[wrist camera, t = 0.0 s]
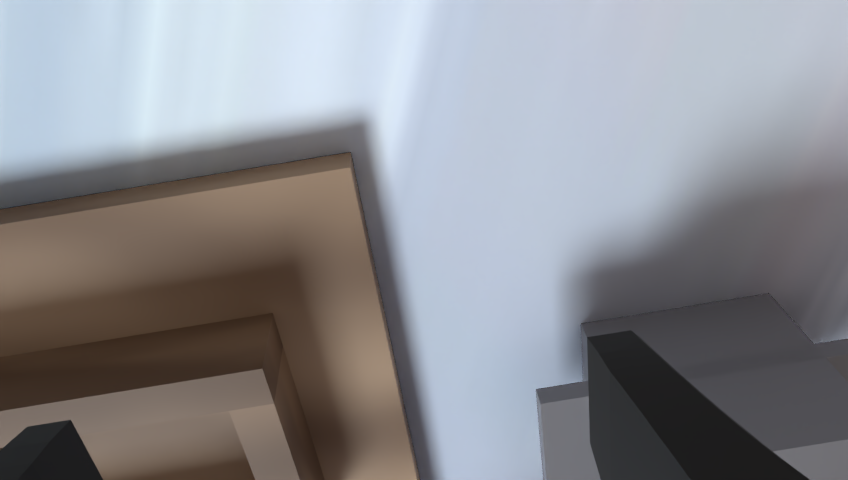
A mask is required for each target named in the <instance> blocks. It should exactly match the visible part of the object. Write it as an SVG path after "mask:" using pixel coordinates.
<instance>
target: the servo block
mask: <svg viewBox="0 0 848 480" xmlns="http://www.w3.org/2000/svg"><path fill="white" fill-rule="evenodd" d="M629 330H631V331H633V332H634V333H635V334H637V335H638V336H639V337H640V338H641V339H643V340H644V341H645V342H646V343H647V344H648V345H649V346H650V347H651V348H652V349H653V350H654V351H656V352H657V353H658V354H659V355H660V356H661V357H662V358H663V359H664V360H665V361H666V362H668V363H669V364H670V365H671V366H672V367H673V368H674V369H675V370H676V371H678V372H679V373H680V374H681V375H682V376H683V377H684V378H685V379H686V380H688V381H689V382H690V383H691V384H692V385H693V386H694V387H696V388H697V389H698V390H699V391H700V392H701V393H702V394H704V395H705V396H706V397H707V398H708V399H709V400H710V401H712V402H713V403H714V404H715V405H716V406H718V407H719V408H720V409H721V410H722V411H723V412H725V413H726V414H727V415H728V416H730V417H731V418H732V419H733V420H734V421H736V422H737V423H738V424H739V425H741V426H742V427H743V428H744V429H745V430H747V431H748V432H749V433H750V434H752V435H753V436H754V437H755V438H756V439H758V440H759V441H760V442H761V443H763V444H764V445H765V446H766V447H768V448H769V449H770V450H772V451H773V452H774V453H775V454H777V455H778V456H779V457H781V458H782V459H783V460H784V461H786V462H787V463H788V464H790V465H791V466H792V467H794V468H795V469H796V470H798V471H799V472H800V473H802V474H803V475H805V476H806V477H807V478H809V479H810V480H848V339H842V340H836V341H830V342H824V343H818V344H813V343H812V341H811V340H810V339H809V338H808V337H807V336H806V335H805V334H804V332H803V331H802V330H801V329H800V328H799V327H798V326H797V325H796V323H795V322H794V321H793V320H792V319H791V318H790V317H789V316H788V314H787V313H786V312H785V311H784V310H783V309H782V308H781V307H780V305H779V304H778V303H777V302H776V301H775V300H774V299H773V298H772V297H771V295H770V294H769V293H768V294H762V295H756V296H749V297H743V298H737V299H731V300H725V301H719V302H712V303H706V304H700V305H694V306H688V307H682V308H675V309H669V310H663V311H657V312H651V313H645V314H638V315H632V316H626V317H620V318H614V319H608V320H601V321H595V322H589V323H583V324H581V341H582V368H583V382H578V383H571V384H565V385H559V386H553V387H547V388H541V389H536V397H537V409H538V421H539V434H540V446H541V458H542V471H543V480H601V479H600V475H599V472H598V468H597V465H596V462H595V458H594V455H593V452H592V448H591V445H590V428H589V391H588V354H587V337H591V336H598V335H604V334H610V333H616V332H623V331H629Z"/></svg>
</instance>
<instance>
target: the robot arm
mask: <svg viewBox="0 0 848 480" xmlns="http://www.w3.org/2000/svg"><path fill="white" fill-rule="evenodd" d="M587 354H588V391H589V428H590V445H591V448H592V452H593V455H594V458H595V462H596V465H597V468H598V472H599V475H600V479H601V480H810V479H809V478H807V477H806V476H805V475H803V474H802V473H800V472H799V471H798V470H796V469H795V468H794V467H792V466H791V465H790V464H788V463H787V462H786V461H784V460H783V459H782V458H781V457H779V456H778V455H777V454H775V453H774V452H773V451H772V450H770V449H769V448H768V447H766V446H765V445H764V444H763V443H761V442H760V441H759V440H758V439H756V438H755V437H754V436H753V435H752V434H750V433H749V432H748V431H747V430H745V429H744V428H743V427H742V426H741V425H739V424H738V423H737V422H736V421H734V420H733V419H732V418H731V417H730V416H728V415H727V414H726V413H725V412H723V411H722V410H721V409H720V408H719V407H718V406H716V405H715V404H714V403H713V402H712V401H710V400H709V399H708V398H707V397H706V396H705V395H704V394H702V393H701V392H700V391H699V390H698V389H697V388H696V387H694V386H693V385H692V384H691V383H690V382H689V381H688V380H686V379H685V378H684V377H683V376H682V375H681V374H680V373H679V372H678V371H676V370H675V369H674V368H673V367H672V366H671V365H670V364H669V363H668V362H666V361H665V360H664V359H663V358H662V357H661V356H660V355H659V354H658V353H657V352H656V351H654V350H653V349H652V348H651V347H650V346H649V345H648V344H647V343H646V342H645V341H644V340H643V339H641V338H640V337H639V336H638V335H637V334H635V333H634V332H633V331H631V330H629V331H623V332H616V333H610V334H604V335H598V336H591V337H587ZM0 480H103V478H102V477H101V475H100V473H99V471H98V469H97V467H96V465H95V464H94V462H93V460H92V458H91V456H90V454H89V452H88V451H87V449H86V447H85V445H84V443H83V441H82V440H81V438H80V436H79V434H78V432H77V430H76V428H75V427H74V425H73V423H72V421H71V420H66V421H59V422H53V423H47V424H41V425H34V426H28V427H26V428H25V429H24V430H23V431H22V432H21V433H19V434H18V435H17V436H16V437H15V438H14V439H12V440H11V441H10V442H9V443H8V444H7V445H6V446H5V447H3V448H2V449H1V450H0Z"/></svg>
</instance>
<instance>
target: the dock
mask: <svg viewBox="0 0 848 480" xmlns="http://www.w3.org/2000/svg"><path fill="white" fill-rule="evenodd" d="M66 420H71V421H72V423H73V425H74V427H75V428H76V430H77V432H78V434H79V436H80V438H81V440H82V441H83V443H84V445H85V447H86V449H87V451H88V452H89V454H90V456H91V458H92V460H93V462H94V464H95V465H96V467H97V469H98V471H99V473H100V475H101V477H102V478H103V480H420V478H419V473H418V468H417V464H416V459H415V454H414V449H413V445H412V440H411V435H410V431H409V426H408V421H407V416H406V412H405V407H404V402H403V397H402V393H401V388H400V383H399V379H398V374H397V369H396V364H395V360H394V355H393V350H392V345H391V341H390V336H389V331H388V326H387V322H386V317H385V312H384V308H383V303H382V298H381V293H380V289H379V284H378V279H377V274H376V270H375V265H374V260H373V256H372V251H371V246H370V241H369V237H368V232H367V227H366V222H365V218H364V213H363V208H362V203H361V199H360V194H359V189H358V185H357V180H356V175H355V170H354V166H353V161H352V156H351V152H348V153H342V154H336V155H330V156H324V157H318V158H312V159H306V160H299V161H293V162H287V163H281V164H275V165H269V166H263V167H257V168H250V169H244V170H238V171H232V172H226V173H220V174H214V175H208V176H202V177H195V178H189V179H183V180H177V181H171V182H165V183H159V184H153V185H146V186H140V187H134V188H128V189H122V190H116V191H110V192H104V193H98V194H91V195H85V196H79V197H73V198H67V199H61V200H55V201H49V202H42V203H36V204H30V205H24V206H18V207H12V208H6V209H0V450H1V449H2V448H3V447H5V446H6V445H7V444H8V443H9V442H10V441H11V440H12V439H14V438H15V437H16V436H17V435H18V434H19V433H21V432H22V431H23V430H24V429H25V428H26V427H28V426H34V425H41V424H47V423H53V422H59V421H66Z"/></svg>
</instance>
